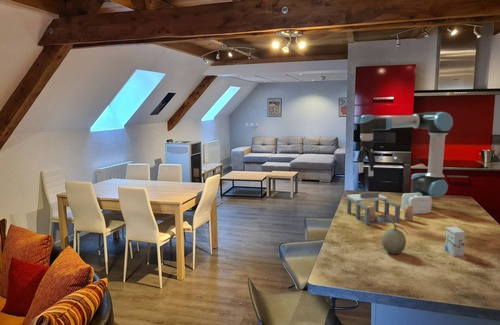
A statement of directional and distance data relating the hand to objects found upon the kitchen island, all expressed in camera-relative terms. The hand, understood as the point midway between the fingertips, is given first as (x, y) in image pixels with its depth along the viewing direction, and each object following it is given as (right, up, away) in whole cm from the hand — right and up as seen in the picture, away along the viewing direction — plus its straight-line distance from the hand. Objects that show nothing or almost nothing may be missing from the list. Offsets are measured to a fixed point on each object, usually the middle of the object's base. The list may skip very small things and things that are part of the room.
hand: (365, 174), depth 242 cm
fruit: (-4, -36, -58) cm, 68 cm away
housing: (+3, -27, -1) cm, 28 cm away
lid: (+2, -15, +4) cm, 16 cm away
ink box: (+24, -36, -59) cm, 73 cm away
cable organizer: (+36, -25, +11) cm, 45 cm away
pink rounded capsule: (+24, -28, -6) cm, 37 cm away
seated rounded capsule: (+1, -28, -8) cm, 29 cm away
